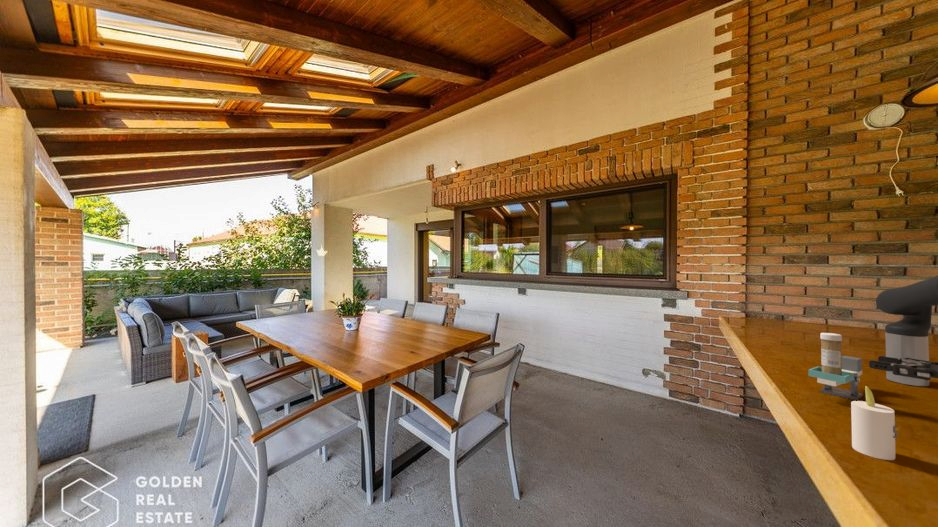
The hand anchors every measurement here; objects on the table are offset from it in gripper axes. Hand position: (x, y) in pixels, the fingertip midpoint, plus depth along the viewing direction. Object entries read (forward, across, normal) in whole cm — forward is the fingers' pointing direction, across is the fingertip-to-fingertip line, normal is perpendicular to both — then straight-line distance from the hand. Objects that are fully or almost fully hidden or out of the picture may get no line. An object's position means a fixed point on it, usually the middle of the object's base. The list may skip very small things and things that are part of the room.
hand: (874, 361), depth 95 cm
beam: (+9, -8, +9) cm, 15 cm away
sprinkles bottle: (+9, +1, +7) cm, 11 cm away
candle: (-6, +33, +15) cm, 36 cm away
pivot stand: (+9, -8, +14) cm, 19 cm away
